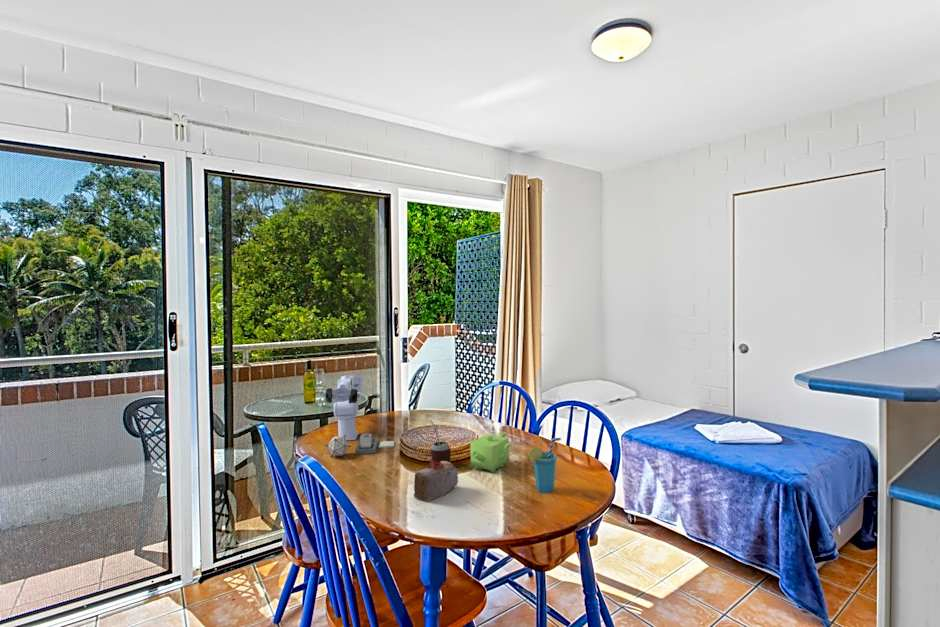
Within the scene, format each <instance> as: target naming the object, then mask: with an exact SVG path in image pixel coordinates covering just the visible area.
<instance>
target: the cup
mask: <svg viewBox="0 0 940 627" xmlns="http://www.w3.org/2000/svg"><path fill="white" fill-rule="evenodd" d="M561 440H562V438H561V437H553V438H552V439H551V441H550V445H549V451H542V449H541V447H537V446H534V447H532V448H531V449H529V451H528V453H527V456H526V457H527V459H528V462H529V463H531V464H533V471H534V480H535V489H536V491H537V492H539V493H543V494H549V493H553V491H554V490H555V481H556V480H555V479H556V478H555V476H556V464H557V463H556V462H557V458H558V456H557V454H555V453H553V447H554V443H555V442H556V441H557V442H558V441H561Z"/></svg>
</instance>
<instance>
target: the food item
mask: <svg viewBox="0 0 940 627" xmlns="http://www.w3.org/2000/svg"><path fill="white" fill-rule="evenodd" d="M426 465H427V466H426V467H425V468H423V469H420V470H418V471H416V472H414V486H413V490H414V494H413V497H414V498H415V499H417V500H418V501H423V502H425V503H428V502H430V501H432V500H434V499H435V498H437V497H444V496H445V495H446V494H447V493H448V492H450V491H452V489H454V488H455V487H457V485H458V483H459V476H458V475H459V474H458V472H459V471H458V469H457V468H456V467H455V466H454V464H453V463H452V462H447V461H441V462H438V463H437V461H436V462H434V461H430V462H429V463H427V464H426Z"/></svg>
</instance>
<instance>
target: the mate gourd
mask: <svg viewBox="0 0 940 627" xmlns="http://www.w3.org/2000/svg"><path fill="white" fill-rule="evenodd" d="M430 423H431V425H432V426H433V428H434V429H433V430H434V432H435V436H436V439H437V441H436V442H434V443H433V444H432V445H431V448H430V456H431V462H433V461H434V462H436V461H437V463H438V462H441V461H447V462H450V461H451V453H452V451H451V447H450V445H449V443H448V442H446V441H440V439H439V435H438V429H437V427H436V425H435V424H434V423H433V421H432V420H431V421H430ZM450 463H451V462H450Z"/></svg>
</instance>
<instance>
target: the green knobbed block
mask: <svg viewBox="0 0 940 627" xmlns="http://www.w3.org/2000/svg"><path fill="white" fill-rule="evenodd" d="M505 433H506V431H502V432H501V433H500V434H499V436H498V435H492V434H488V433H487V434H485V435H483V436H481V437H478V438H476V439H470V440H468V442H469V445H470V446H469V448H470V449H469V450H470V452H469V453H470V466H471V467H475V468H476V470H483V469H484V470H489V473H496V472H497V469H499V468H504V467H505V464H506V463H508V462H510V446H512V445H514V443H512V442H510V440H509V437H504V436H505Z"/></svg>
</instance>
